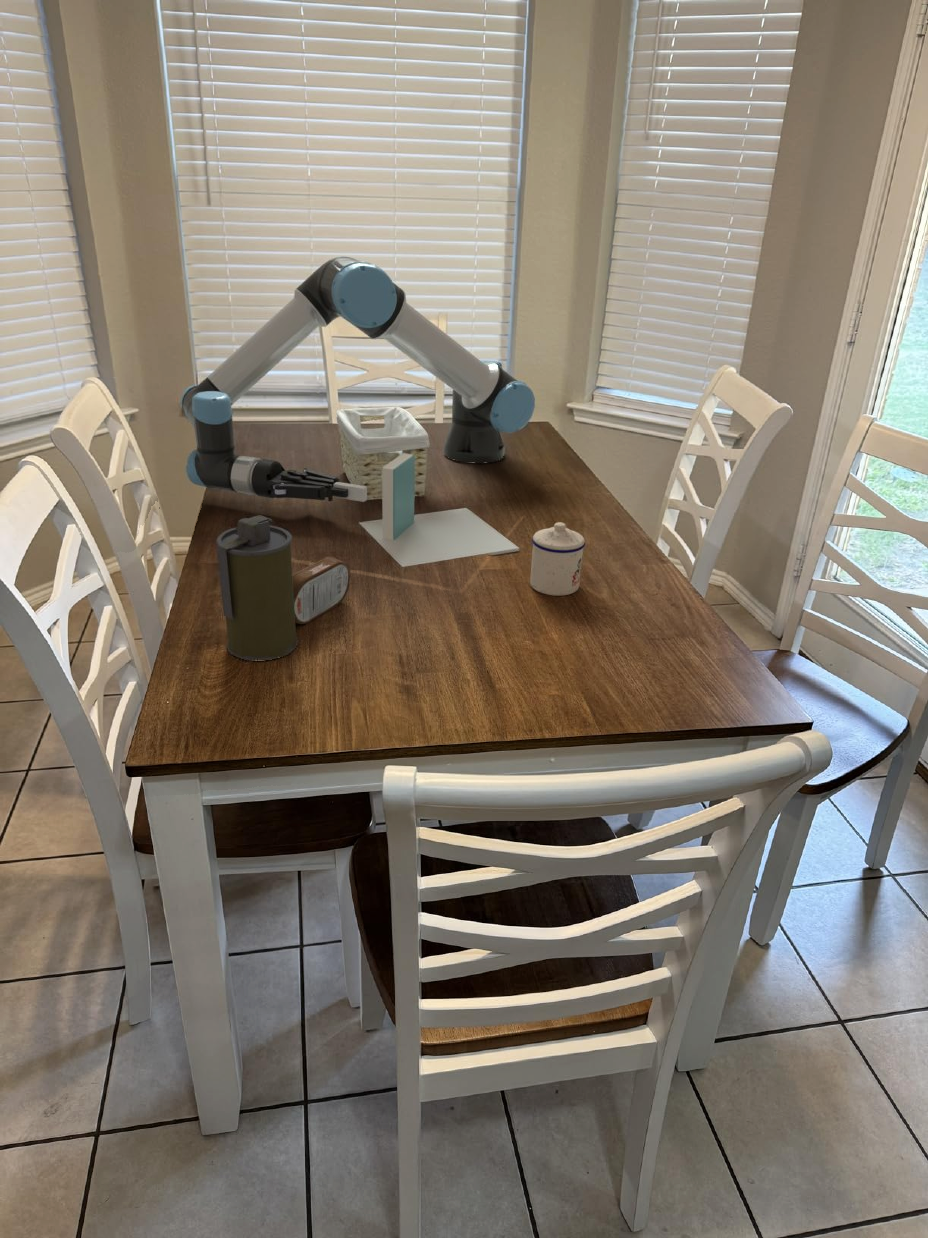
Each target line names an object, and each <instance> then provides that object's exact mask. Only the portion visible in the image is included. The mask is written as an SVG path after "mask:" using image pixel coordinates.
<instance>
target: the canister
mask: <svg viewBox="0 0 928 1238" xmlns="http://www.w3.org/2000/svg"><path fill="white" fill-rule="evenodd" d="M272 522H273V519H272V518H269V517H267V516H264V515H262V514H259V515H255V516H252V517H251V516H250V517H249V518H247V517H245V518H241V519H239V520H237V526H236V527H232V528H229V529H227V530H225V531H223V532H222V533H221V534H219V536H218V537H217V538H216V542H215V543H216V550H217V551H216V552H217V561H218V572H219V581H220V591H221V593H220V594H221V601H222V612H223V617H225V622H226V623H225V624H226V633H227V643H226V647H227V648H226V649H227V651H228V653H229V652H230V653H229V654H230V655H232V654H233V655H234V656H236V657H239V658H242V659H244V660H243V661H245V660H254V661H255V660H257V661H258V660H270V659H276V658H278V657H282V658H284V657H286V656H285V655H286V654H289V653H290V654H291V653H293V652H294V651H295V650H296V649H297V647H298V644H299V639H298V636H297V634H296V633H297V631H296V623H295V612H294V594H293V577H292V575H293V564H292V563H293V562H292V547H291V545H292V541H293V536H292V534H291V533H290V532H289V531H288V530H286V529H285V528H282V527H279V526H274V525H271V524H270V523H272ZM296 646H297V647H296ZM295 648H296V649H295ZM293 650H294V651H293ZM292 651H293V652H292ZM290 654H289V655H290ZM233 655H232V656H233ZM234 656H233V657H234ZM283 656H284V657H283ZM236 657H235V658H236ZM239 658H238V659H239ZM242 659H241V660H242ZM276 660H277V659H276Z"/></svg>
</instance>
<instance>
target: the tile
mask: <svg viewBox="0 0 928 1238" xmlns="http://www.w3.org/2000/svg"><path fill="white" fill-rule="evenodd" d="M414 493H415V455H412V454H405V453H403V454H401V455H400V456H398V457H397V458H396V459H394V460H393V461H391V462H390V463H388V464H387V465H386V466H384V467H383V468H382V499H381V500H382V502H381V503H382V506H381V507H382V508H381V509H382V514H381V515H382V519H383V538H386V539H392V540H395V539H396V538H397V537H398V536H400V535H401V534H402V533H403V532H404V531H405V530H406V529H407V528H409V527H410V526H411V525H412V524H413V523H414V515H415V496H414Z"/></svg>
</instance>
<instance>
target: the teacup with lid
mask: <svg viewBox="0 0 928 1238" xmlns="http://www.w3.org/2000/svg"><path fill="white" fill-rule="evenodd" d="M531 542H532V552H531V568H530V569H531V570H530V579H529V580H530V581H529V583H530V586H531V587H532V589H534V590H535V591H536V592H538V593H541V594H544V595H548V596H556V597H557V596H558V597H559V596H560V597H561V596H567V595H568V596H569V595H571V594H574V593H575V592H577V591H578V590H579V589H580V582H581V572H582V566H583V565H582V564H583V553H584V548H585V547H586V541H585V538H584V537H583V535H582V534H580V533H579V532H577V531H575V530H572V529H569V528H568V527H567V525H566V523H564V522H560V521H559V522H556V523H554V525H553V526H552V527H548V528H543V529H539V530H537V531H536V532H535V533H534V534H533V536H532V539H531Z"/></svg>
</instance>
